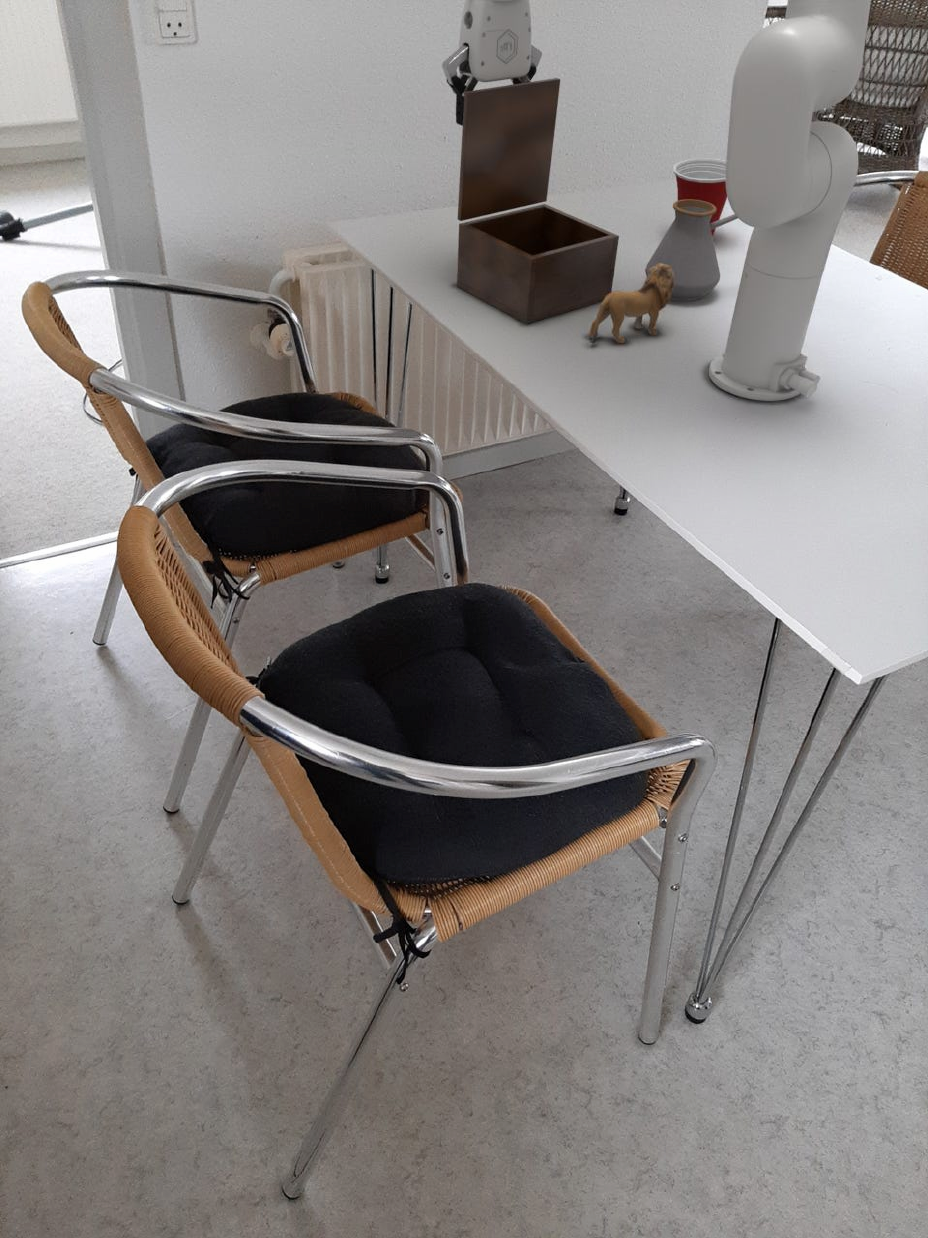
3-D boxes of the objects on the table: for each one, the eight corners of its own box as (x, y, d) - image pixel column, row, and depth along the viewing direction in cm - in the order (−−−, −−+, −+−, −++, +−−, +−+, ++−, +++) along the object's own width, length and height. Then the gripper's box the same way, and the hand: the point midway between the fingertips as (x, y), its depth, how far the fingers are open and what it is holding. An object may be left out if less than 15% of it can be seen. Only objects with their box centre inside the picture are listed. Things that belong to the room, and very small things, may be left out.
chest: (610, 298, 153) (619, 235, 147) (526, 324, 145) (531, 258, 139) (539, 263, 163) (544, 203, 157) (456, 286, 154) (458, 223, 148)
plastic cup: (649, 231, 176) (661, 159, 168) (700, 224, 180) (713, 153, 172) (685, 253, 169) (698, 178, 161) (737, 245, 172) (752, 172, 165)
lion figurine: (648, 315, 149) (658, 255, 143) (675, 328, 146) (687, 267, 140) (577, 340, 141) (585, 277, 135) (604, 354, 138) (613, 290, 132)
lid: (560, 78, 144) (538, 70, 147) (468, 92, 136) (445, 83, 139) (546, 201, 156) (526, 191, 159) (460, 221, 148) (440, 210, 151)
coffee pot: (653, 306, 151) (671, 204, 142) (633, 276, 160) (648, 178, 150) (788, 304, 154) (814, 203, 144) (761, 275, 163) (784, 178, 153)
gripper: (463, -7, 130) (459, 135, 141) (562, -16, 138) (551, 119, 149) (429, -16, 134) (427, 122, 145) (527, -25, 142) (518, 107, 153)
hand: (490, 120), depth 147 cm, fingers open, 9 cm apart
